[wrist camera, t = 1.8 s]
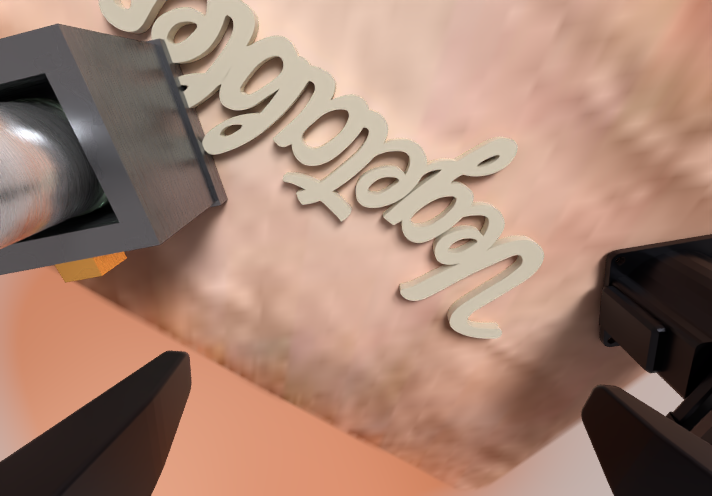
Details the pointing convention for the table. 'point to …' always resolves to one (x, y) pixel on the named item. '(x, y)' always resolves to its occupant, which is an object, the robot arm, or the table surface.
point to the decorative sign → (404, 192)
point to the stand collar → (112, 144)
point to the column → (41, 170)
